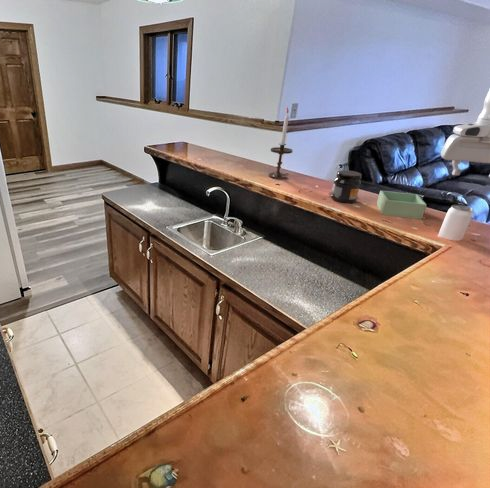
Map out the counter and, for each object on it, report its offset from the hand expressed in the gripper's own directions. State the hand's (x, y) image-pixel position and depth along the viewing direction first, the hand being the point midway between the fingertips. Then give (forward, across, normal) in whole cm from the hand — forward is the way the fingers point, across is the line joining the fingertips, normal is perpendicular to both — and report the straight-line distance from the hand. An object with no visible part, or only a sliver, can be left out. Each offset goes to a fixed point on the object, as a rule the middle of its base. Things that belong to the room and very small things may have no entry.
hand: (473, 176), depth 108 cm
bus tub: (+22, +9, -26) cm, 36 cm away
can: (+22, -1, 0) cm, 23 cm away
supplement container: (+22, +29, -34) cm, 50 cm away
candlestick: (+22, +59, -62) cm, 88 cm away
